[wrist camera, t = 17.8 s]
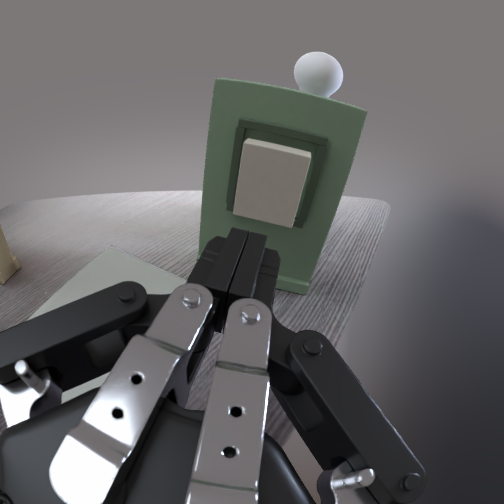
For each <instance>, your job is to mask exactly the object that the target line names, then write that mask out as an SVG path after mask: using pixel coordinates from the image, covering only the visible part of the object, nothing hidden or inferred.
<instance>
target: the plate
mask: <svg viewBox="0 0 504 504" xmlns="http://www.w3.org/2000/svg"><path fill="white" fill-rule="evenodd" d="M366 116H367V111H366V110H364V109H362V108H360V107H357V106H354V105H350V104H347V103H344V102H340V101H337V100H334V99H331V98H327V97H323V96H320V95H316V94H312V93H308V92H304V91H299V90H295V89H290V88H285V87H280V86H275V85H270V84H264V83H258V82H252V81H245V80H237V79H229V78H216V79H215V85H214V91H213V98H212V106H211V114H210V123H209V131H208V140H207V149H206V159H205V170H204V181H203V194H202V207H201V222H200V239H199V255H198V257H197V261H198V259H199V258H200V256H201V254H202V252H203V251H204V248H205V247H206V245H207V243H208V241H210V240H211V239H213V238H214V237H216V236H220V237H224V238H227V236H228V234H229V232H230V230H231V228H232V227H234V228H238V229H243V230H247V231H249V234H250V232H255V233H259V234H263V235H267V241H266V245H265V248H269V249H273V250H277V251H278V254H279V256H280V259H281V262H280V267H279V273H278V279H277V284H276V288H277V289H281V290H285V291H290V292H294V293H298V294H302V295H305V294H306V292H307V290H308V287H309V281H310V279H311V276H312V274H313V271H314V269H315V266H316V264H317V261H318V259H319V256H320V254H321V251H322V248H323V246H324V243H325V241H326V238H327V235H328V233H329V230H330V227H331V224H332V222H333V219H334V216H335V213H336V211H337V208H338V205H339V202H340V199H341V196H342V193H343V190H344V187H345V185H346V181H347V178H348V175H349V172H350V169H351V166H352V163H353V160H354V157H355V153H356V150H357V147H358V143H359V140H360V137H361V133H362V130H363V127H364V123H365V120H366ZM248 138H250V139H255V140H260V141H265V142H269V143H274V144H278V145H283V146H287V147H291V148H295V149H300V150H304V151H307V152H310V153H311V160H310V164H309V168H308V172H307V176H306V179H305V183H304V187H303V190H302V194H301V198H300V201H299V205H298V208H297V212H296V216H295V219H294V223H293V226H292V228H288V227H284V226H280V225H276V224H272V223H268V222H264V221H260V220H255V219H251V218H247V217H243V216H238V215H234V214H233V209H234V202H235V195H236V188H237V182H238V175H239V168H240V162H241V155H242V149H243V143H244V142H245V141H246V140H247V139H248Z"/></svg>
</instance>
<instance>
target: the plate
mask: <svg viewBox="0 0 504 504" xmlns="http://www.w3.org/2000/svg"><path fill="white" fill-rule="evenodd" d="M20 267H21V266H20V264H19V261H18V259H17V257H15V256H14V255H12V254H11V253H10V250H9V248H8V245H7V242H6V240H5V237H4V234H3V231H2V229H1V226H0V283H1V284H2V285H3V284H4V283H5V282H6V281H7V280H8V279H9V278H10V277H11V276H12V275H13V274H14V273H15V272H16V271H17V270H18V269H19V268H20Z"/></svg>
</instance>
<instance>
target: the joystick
mask: <svg viewBox="0 0 504 504" xmlns="http://www.w3.org/2000/svg"><path fill="white" fill-rule="evenodd" d="M294 77H295V80H296V82H297V84H298V86H299V89H300V91H304V92H308V93H312V94H316V95H320V96H323V97H327V98H328V97H329V96H330V95H331V94H333V93H334V92H335V91H337V90H338V89H339V87H340V85H341V84H342V80H343V71H342V68H341V66H340V64H339V63H338V61H337V60H336V59H335V58H333V57H332V56H330V55H329V54H326V53H323V52H310V53H307V54H305V55H303V56H302V57H301V58H300V59H299V60H298V61H297V63H296V65H295V68H294Z"/></svg>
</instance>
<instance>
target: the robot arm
mask: <svg viewBox="0 0 504 504" xmlns="http://www.w3.org/2000/svg"><path fill="white" fill-rule="evenodd" d="M266 241H267V235H263V234H259V233H255V232H250V234H249V231H247V230H243V229H238V228H234V227H232V228H231V230H230V232H229V234H228V236H227V238H224V237H220V236H216V237H214V238H213V239H211V240H210V241H208V243H207V245H206V247H205V248H204V251H203V252H202V254H201V256H200V258H199V259H198V261H197V263H196V265H195V267H194V269H193V271H192V272H191V274H190V276H189V278H188V280H187V282H186V283H185V284H183V285H180V286H178V287H177V288H176V289H174V291H173V292H172V293H170V294H147V292H146V289H145V288H144V287H143V286H142V285H141V284H139V283H137V282H134V281H124V282H120V283H118V284H115V285H113V286H110V287H108V288H105V289H103V290H100V291H98V292H95V293H93V294H90V295H88V296H85V297H83V298H80V299H78V300H75V301H73V302H71V303H68V304H66V305H63V306H61V307H58V308H56V309H54V310H51V311H49V312H46V313H44V314H42V315H39V316H37V317H35V318H32V319H30V320H27V321H25V322H23V323H20V324H18V325H16V326H13V327H11V328H9V329H7V330H4V331H2V332H0V402H1V407H2V410H3V414H4V418H5V421H6V425H7V429H6V430H5V431H4V432H3V433H2V435H1V437H0V504H316V503H315V501H314V500H313V498H312V497H311V495H310V494H309V492H308V490H307V489H306V487H305V486H304V484H303V482H302V481H301V479H300V477H299V476H298V474H297V473H296V471H295V469H294V467H293V466H292V464H291V462H290V461H289V459H288V457H287V456H286V454H285V452H284V451H283V449H282V448H281V447H280V445H279V444H278V443H277V442H276V441H275V440H274V439H273V438H272V437H271V436H269V435H268V434H267V433H265V432H264V430H265V421H266V412H267V402H268V392H269V385H270V386H271V389H272V391H273V393H274V395H275V396H276V398H277V400H278V401H279V403H280V404H281V406H282V408H283V409H284V411H285V413H286V414H287V416H288V417H289V419H290V420H291V422H292V424H293V425H294V427H295V428H296V430H297V431H298V433H299V435H300V436H301V438H302V439H303V441H304V442H305V444H306V445H307V447H308V448H309V449H310V451H311V453H312V454H313V456H314V457H315V459H316V460H317V462H318V463H319V465H320V466H321V468H322V469H323V470H324V471H323V472H322V473H321V475H320V476H319V478H318V480H317V491H318V493H319V495H320V498H321V504H407V503H410V502H413V501H415V500H416V499H417V498H419V497H420V495H421V494H422V493H423V491H424V489H425V487H426V482H427V475H426V472H425V470H424V468H423V467H422V465H421V464H420V462H419V461H418V460H417V458H416V457H415V456H414V454H413V453H412V452H411V450H410V449H409V447H408V446H407V445H406V443H405V442H404V441H403V439H402V438H401V437H400V435H399V434H398V433H397V431H396V430H395V428H394V427H393V426H392V424H391V423H390V422H389V420H388V419H387V418H386V416H385V415H384V414H383V412H382V411H381V410H380V408H379V407H378V406H377V404H376V403H375V401H374V400H373V399H372V397H371V396H370V395H369V393H368V392H367V391H366V389H365V388H364V387H363V385H362V384H361V383H360V382H359V380H358V379H357V377H356V376H355V375H354V373H353V372H352V371H351V369H350V368H349V367H348V365H347V364H346V363H345V362H344V360H343V359H342V357H341V356H340V355H339V353H338V352H337V351H336V349H335V348H334V347H333V345H332V344H331V343H330V341H329V340H328V339H327V338H326V337H325V336H324V335H322V334H321V333H319V332H317V331H313V330H303V331H300V332H298V333H295V332H293V331H291V330H289V329H287V328H286V327H284V326H283V325H281V324H280V323H279V322H278V321H277V319H276V318H275V316H274V314H273V309H272V307H273V301H274V295H275V290H276V284H277V279H278V273H279V267H280V262H281V259H280V256H279V254H278V251H277V250H273V249H269V248H265V245H266ZM223 325H224V327H223ZM222 328H223V337H222V342H221V346H220V351H219V355H218V359H217V362H216V365H215V369H214V373H213V377H212V382H211V386H210V391H209V395H208V400H207V404H206V409H205V411H199V410H187V409H184V408H185V406H186V403H187V400H188V397H189V392H190V389H191V386H192V384H193V382H194V380H195V377H196V375H197V373H198V371H199V369H200V366H201V364H202V362H203V360H204V358H205V355H206V353H207V351H208V349H209V344H210V342H211V340H212V337H213V334H214V331H215V332H219V333H221V331H222ZM109 372H110V373H109ZM106 373H109V375H108V376H107V378H106V380H105V381H104V383H103V384H102V386H100V387H97V388H94V389H91V390H89V391H87V392H85V393H83V394H81V395H79V396H77V397H75V398H73V399H71V400H68V401H66V402H64V403H62V399H61V398H62V393H63V392H65V391H68V390H70V389H72V388H75V387H77V386H79V385H82V384H84V383H86V382H89V381H91V380H93V379H95V378H98V377H100V376H102V375H104V374H106ZM61 403H62V404H61Z"/></svg>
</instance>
